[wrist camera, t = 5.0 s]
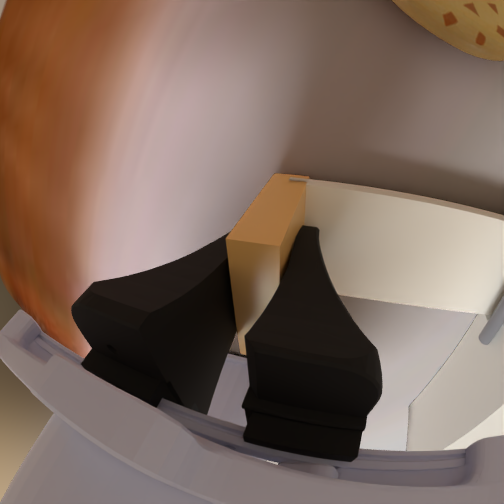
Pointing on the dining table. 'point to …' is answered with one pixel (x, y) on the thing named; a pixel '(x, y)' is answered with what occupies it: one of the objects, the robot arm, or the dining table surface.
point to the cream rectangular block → (463, 392)
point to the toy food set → (462, 23)
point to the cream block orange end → (368, 247)
